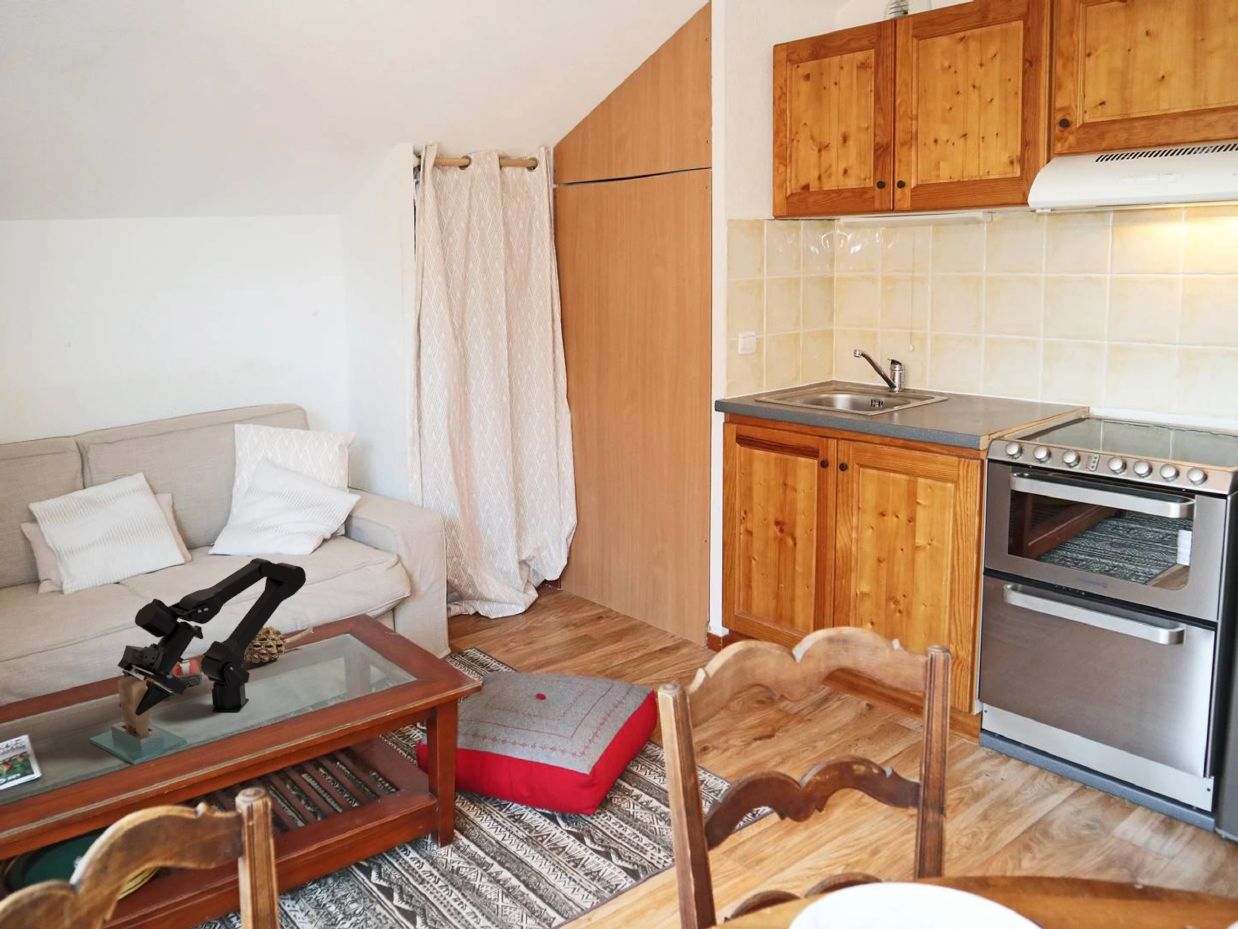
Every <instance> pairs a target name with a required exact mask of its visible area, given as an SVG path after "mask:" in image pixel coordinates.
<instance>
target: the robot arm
mask: <svg viewBox="0 0 1238 929" xmlns="http://www.w3.org/2000/svg"><path fill="white" fill-rule="evenodd" d="M306 576H307V575H306V572H305V570H304V568H303V567H302V566H298V565H295V564H290V563H286V562H278V563H274V562H271V561H270V560H268V559H264V558H262V557H261V558H260V557H255V558H253V559H251V560H250V561H249V563H246V565H244V566H243V567H241V568H239V569H238V570H236V571H234V572H233V573H231V574H229V575H228V576H227V577H225V578H223V579H222V580H220V581H219V582H217V583H216V584H214V585H213V586H210V587H207V588H204V589H199V590H196V591H193V592H191V593H188V594H187V595H184V596H183V597H181V599H180V600H179V601H177V602H175V603H173V604H171V605H169V606H168V605H166V604H165V602H164V601H162V600H161V599H158V598H153V600H152V601H151V602H150V603H149V602H148V603H147V604H145V605H144V606H143V607H142V608H140V609H139V610H138V611H137V613H136V615H135V618H134V623H135V625H136V626H138V627H139V628H141V629H143V630H144V631H146V632H147V633H149V634H150V635H152V636H153V637H155V638H160V639H159V641H158V642H157V643H154V642H153V643H151V644H150V645H149V646H146V645H145V646H144V647H141V646H135V645H128V644H127V645H125V648H124V651H123V654H122V658H121V659H120V660H119V662H118V663H117V665H116V666H117V667H118V668H119V669H122V672H121V673H122V674H123V676H124V678H126V677H129V676H133V677H135V678H137V679H140V680H142V681H145V680H146V679H149V680H147V681H146V688H147V691H146V693H145V695H144V697H143V698H142V700H141V702H140V704H139V705H138V707H137V709H136V712H135V714H136V715H138V716H140V715H141V714H143V713H144V712H146V711H147V710H149V711H150V709H152V708H153V707H155V706H157V705H158V704H159V703H161V702H163V701H165V700H166V699H168V698H170V696H172V697H173V696H174V694H176V695H179V696H181V697H182V696H183V695H184V693H185V692H186V690H187V689H188V686H187V685H186V682H184V681H183V680H181V679H179V678H178V677H176V676H174V675H173V674H171V671H172V669H173V668H174V666H175V665H176V663H177V662H179V663H182V662H183V661H184V660H185V659H184V658H183V657H182V656H183V655H184V653H185V651H186V650H187V648H188V646H189V645H190V644H191V642H192V640H193V639H194V638H196V639H199V640H203V639H204V634H203V630H202V629H203V627H202V626H200V625H206V624H207V623H209V622H210V621H212V620H213V618H215V616H217V615H218V614H219V613H220V611H221V610H222V608H223V606H224V605H225V604H227V602H229V601H230V600H232V599H233V598H235V597H237V596H238V595H240V594H241V593H243V592H244V591H246V590H247V589H249V588H250V587H252V586H253V585H255V584H256V583H258V582H259V581H261V580H263V579H265V578H266V579H265V584H264V590H263V592H262V593H261V594H260V596H258V598H257V599H256V601H255V602H254V603H253V605H252V606H251V607H250V609H249V610H248V611H247V613H245V615H244V616H243V618H242V619H241V620H240V622H239V623H238V624H237V626H236V627H235V628H234V630H232V633H230V635H229V636H228V637H227V639H225V640H223V641H217V640H214V641H213V642H212V643H211V644H210V646H209V647H208V649H207V650H206V651H205V652H204V653H202V656H203V657H202V659H201V661H200V665H201V667H200V668H201V673H203V674H204V675H205V676H207V678H208V680H209V681H210V682H213V683H212V685H213V686H212V687H213V688H211V700H212V706H213V707H212V709H211V712H213V713H214V712H222V713H223V712H232V713H233V712H240V711H241V710H242V709H244V707H245V706H246V705H247V703H248V702H249V701H250V699H249V698H247V696H246V695H247V694H246V684H247V683H248V682H249V680H250V679H249V678H250V675H251V673H250V672H249V671H247V670H246V669H243V668H242V666H243V664H244V661H245V660H244V655H245V650H246V649H247V647H248V646H249V645H250V643H251V642H252V641H253V639H254V638H255V637H256V635H257V634H258V633H259V631H260V630H261V629H262V627H265V625H266V624H267V623H268V621H269V619H270V618H271V617H272V615H273V614H274V613H275V611H276V610H277V609H278V607H279V606H280V605H281V604H282V602H283V601H285V600H288V599H289V598H291V597H292V596H295V595H296V594H297V593H298V592H299V591H300V589H302V588H303V587H304V585H305V584H306V581H307V578H306ZM178 620H182V621H178ZM191 622H192V623H196V624H200V625H192V624H190V623H191ZM151 680H152V681H151ZM153 681H154V682H153ZM118 707H119V708H121V706H120V703H119V704H118Z"/></svg>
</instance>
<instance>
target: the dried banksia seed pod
mask: <svg viewBox="0 0 1238 929" xmlns="http://www.w3.org/2000/svg"><path fill="white" fill-rule="evenodd" d="M313 629H314V627H313V626H310V627H309V626H307V629H305V630H304V631H302V632H300V633H298V634H296V635H294V636H292V637H288V638H286V635H282V634H283V633H282V632H281V630H279V629H275V627H273V626H272V625H269V626H263V627H262V629H261V630H260V631H259V633H258V634H257V635H256V637H255V638H254V639H253V641H252V642H251V643H250V645H249V646H248V647H247V649H246V650H245V655H244V661H246V662H247V663H249V662H250V661H252V663H253V664H258V663H260V661H261V662H262V663H268V662H269V661H270V660H272V661H274V660H276V659H279V658H280V655H284V653H285V652H284V651H286V648H285V646H286V645H289V644H291V643H294V642H296V641H298V640H300V639H302V638H304V637H305V638H306V636H308V635H311V634H314V632H313Z"/></svg>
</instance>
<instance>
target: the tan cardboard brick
mask: <svg viewBox="0 0 1238 929" xmlns="http://www.w3.org/2000/svg"><path fill="white" fill-rule="evenodd" d="M146 683H147V681H145V680H143V681H142V680H140V679H137V678H135V677H133V676H129V677H126V678H125V677H124V678H120V679H118V680H117V687H118V696H119V704H120V706H121V707H120V713H121V722H124V723H125V728H126V730H130V729H132V728H136V732H137V735H142V734H144V733H147V732H148V724H150V723H151V718H150V717H151V716H150V709H149V710H147V711H146V712H144V713H143V714H141V715H140V716H138V715H136V714H135V712H136V709H137V707H138V705H139V704H140V702H141V700H142V698H143V697H144V695H145V693H146V691H147V687H146Z"/></svg>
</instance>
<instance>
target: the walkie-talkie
mask: <svg viewBox="0 0 1238 929" xmlns="http://www.w3.org/2000/svg"><path fill="white" fill-rule="evenodd" d="M171 674H173V675H174V676H176V677H178V678H179V679H181V680H183V681H184V682H186V685H187V687H189V686H188V685H192V687H194V686H197V685H196V684H198V685H201V684H202V679H203V676H202V671H201V670H200V666H199V662H198V660H196V659H193V658H191V659H186V660H185V659H184V660H183V662H182V663H179V662H177V663H176V665H175V666H174V668H173V669H172V671H171ZM169 698H171V699H172V698H173V696H170V697H169Z"/></svg>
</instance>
